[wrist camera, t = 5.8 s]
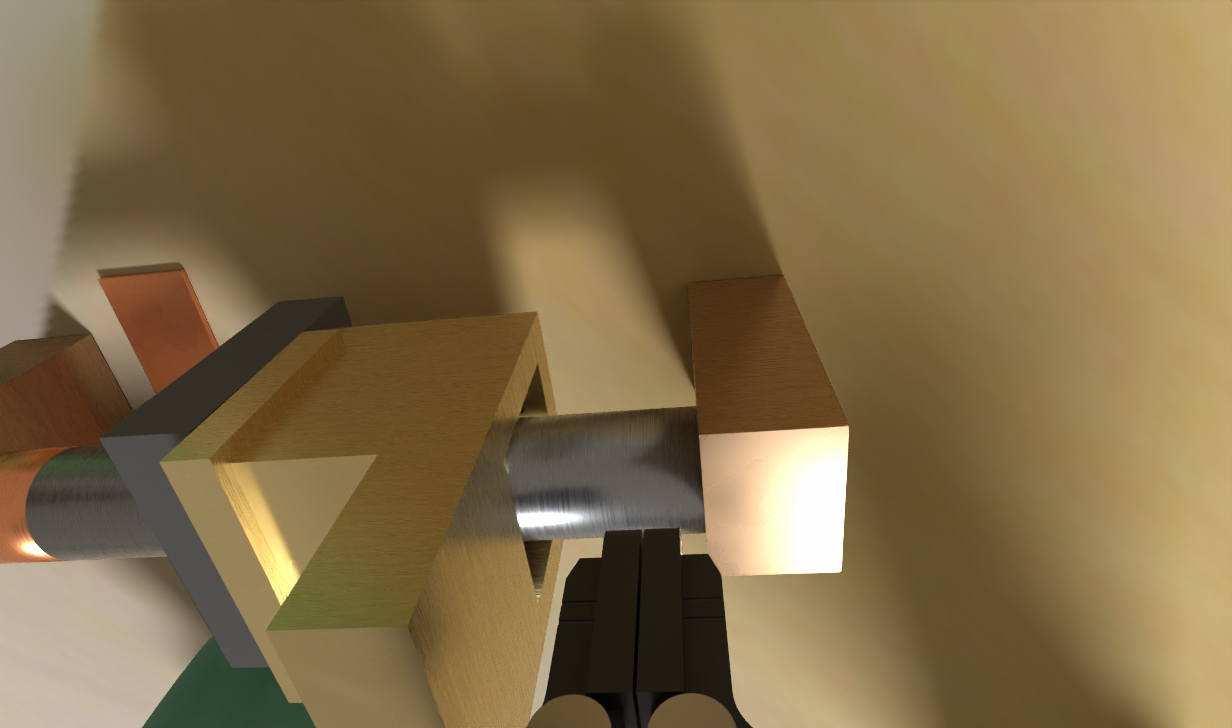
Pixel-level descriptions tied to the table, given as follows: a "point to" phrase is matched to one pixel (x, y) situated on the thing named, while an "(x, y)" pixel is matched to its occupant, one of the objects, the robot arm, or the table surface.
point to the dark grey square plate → (178, 415)
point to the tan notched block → (382, 520)
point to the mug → (226, 697)
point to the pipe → (535, 458)
